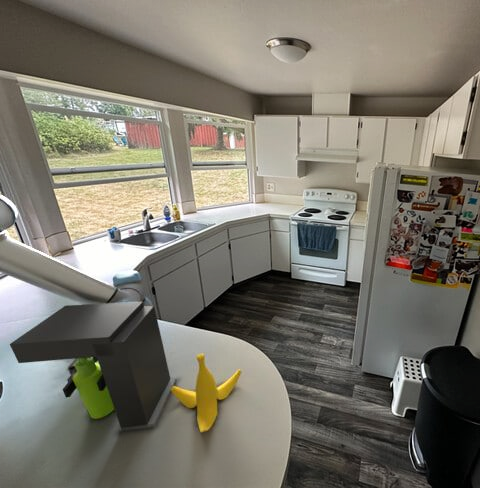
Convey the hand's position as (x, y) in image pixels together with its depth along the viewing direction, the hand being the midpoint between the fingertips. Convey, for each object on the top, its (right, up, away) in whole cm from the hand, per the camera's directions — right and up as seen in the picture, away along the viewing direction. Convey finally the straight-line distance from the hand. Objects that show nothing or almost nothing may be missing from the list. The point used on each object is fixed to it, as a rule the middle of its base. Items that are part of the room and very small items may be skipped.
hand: (83, 389), depth 61 cm
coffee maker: (+3, -9, +8) cm, 12 cm away
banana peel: (+27, -10, +8) cm, 30 cm away
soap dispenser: (-2, -9, +7) cm, 12 cm away
